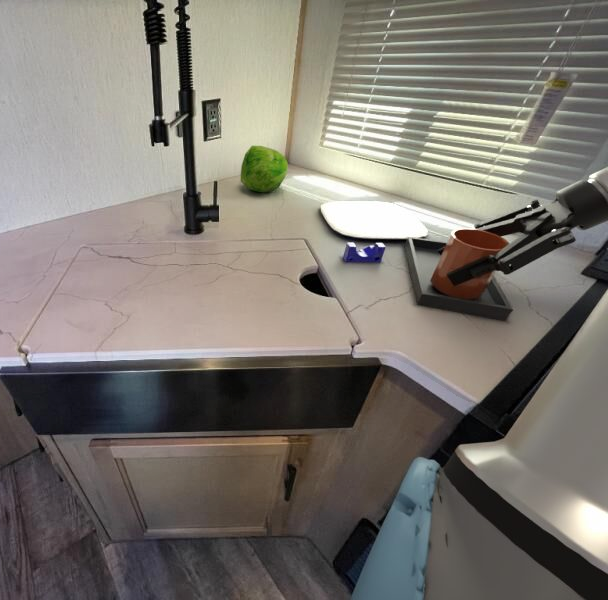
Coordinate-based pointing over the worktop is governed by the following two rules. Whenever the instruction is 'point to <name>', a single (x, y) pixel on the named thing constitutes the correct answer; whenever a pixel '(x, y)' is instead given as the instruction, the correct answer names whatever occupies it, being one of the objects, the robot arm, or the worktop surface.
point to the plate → (372, 220)
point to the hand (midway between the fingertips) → (445, 267)
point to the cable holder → (364, 253)
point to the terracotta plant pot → (466, 261)
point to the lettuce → (263, 169)
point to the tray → (421, 269)
